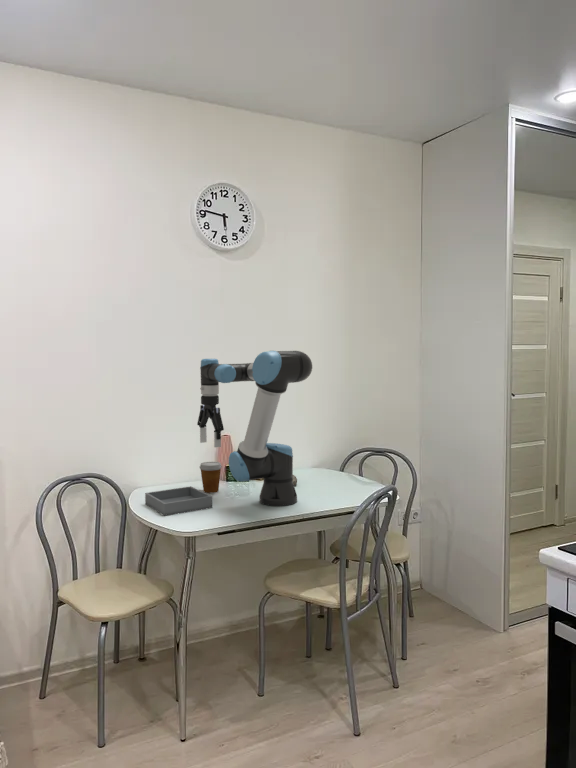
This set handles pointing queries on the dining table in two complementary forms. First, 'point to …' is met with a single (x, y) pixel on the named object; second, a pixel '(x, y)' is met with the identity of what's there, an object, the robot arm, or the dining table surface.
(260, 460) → the robot arm
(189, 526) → the dining table surface
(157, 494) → the crate
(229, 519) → the dining table surface
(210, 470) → the disposable coffee cup
